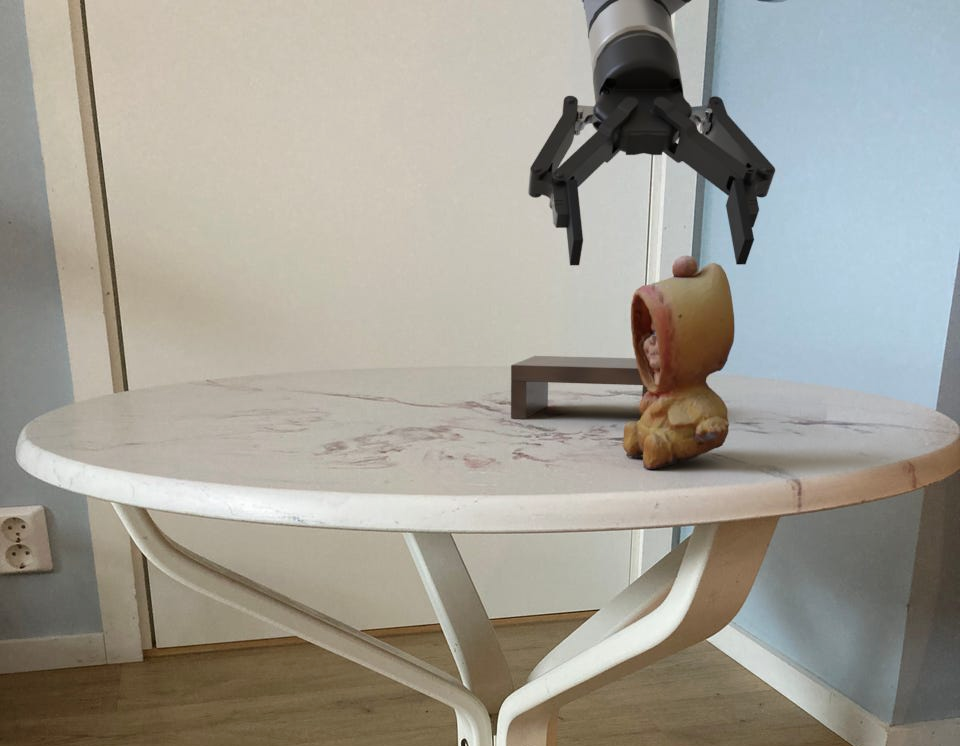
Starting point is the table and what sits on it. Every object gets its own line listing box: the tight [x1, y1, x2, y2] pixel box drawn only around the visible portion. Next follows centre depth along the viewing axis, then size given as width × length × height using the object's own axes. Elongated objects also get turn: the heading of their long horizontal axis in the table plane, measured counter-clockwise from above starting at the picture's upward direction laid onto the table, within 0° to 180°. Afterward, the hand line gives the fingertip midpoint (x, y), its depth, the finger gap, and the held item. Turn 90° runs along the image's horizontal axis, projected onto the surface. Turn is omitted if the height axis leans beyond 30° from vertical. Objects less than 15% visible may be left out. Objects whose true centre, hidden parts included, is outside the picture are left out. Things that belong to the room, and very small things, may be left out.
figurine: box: [622, 254, 735, 470], centre depth 82 cm, size 10×8×15 cm
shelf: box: [510, 355, 648, 420], centre depth 107 cm, size 14×9×5 cm, turn 73°
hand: (661, 253), depth 88 cm, fingers open, 13 cm apart
